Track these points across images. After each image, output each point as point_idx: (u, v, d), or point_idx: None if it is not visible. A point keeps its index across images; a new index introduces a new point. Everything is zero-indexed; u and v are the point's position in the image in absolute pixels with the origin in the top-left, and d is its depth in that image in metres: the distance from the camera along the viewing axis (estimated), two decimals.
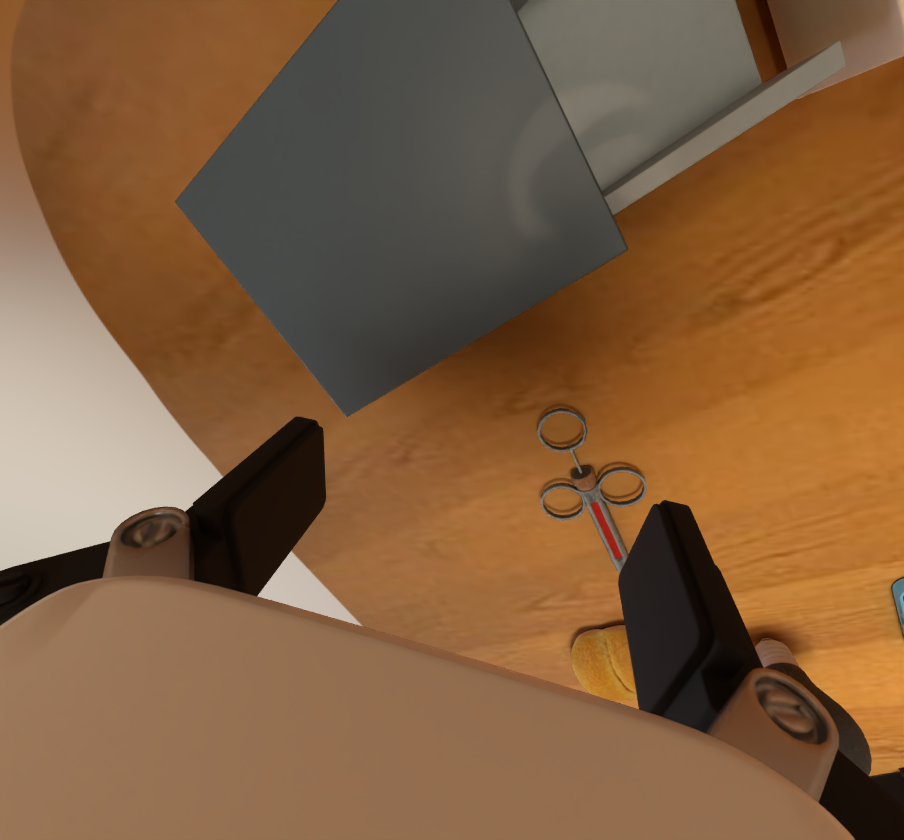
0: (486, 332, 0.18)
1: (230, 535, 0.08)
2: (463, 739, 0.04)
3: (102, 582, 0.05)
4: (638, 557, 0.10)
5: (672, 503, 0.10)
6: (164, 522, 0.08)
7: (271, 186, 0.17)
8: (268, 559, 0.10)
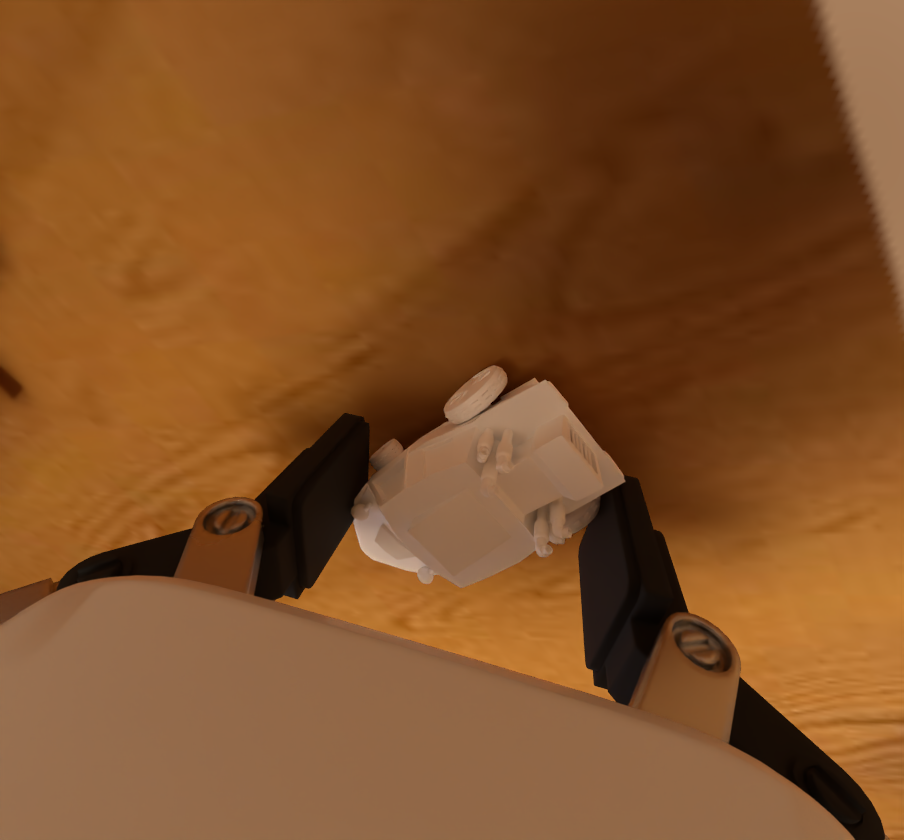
0: None
1: (297, 524, 0.09)
2: (463, 739, 0.04)
3: (102, 582, 0.05)
4: (593, 527, 0.11)
5: None
6: (241, 512, 0.08)
7: None
8: (323, 549, 0.10)
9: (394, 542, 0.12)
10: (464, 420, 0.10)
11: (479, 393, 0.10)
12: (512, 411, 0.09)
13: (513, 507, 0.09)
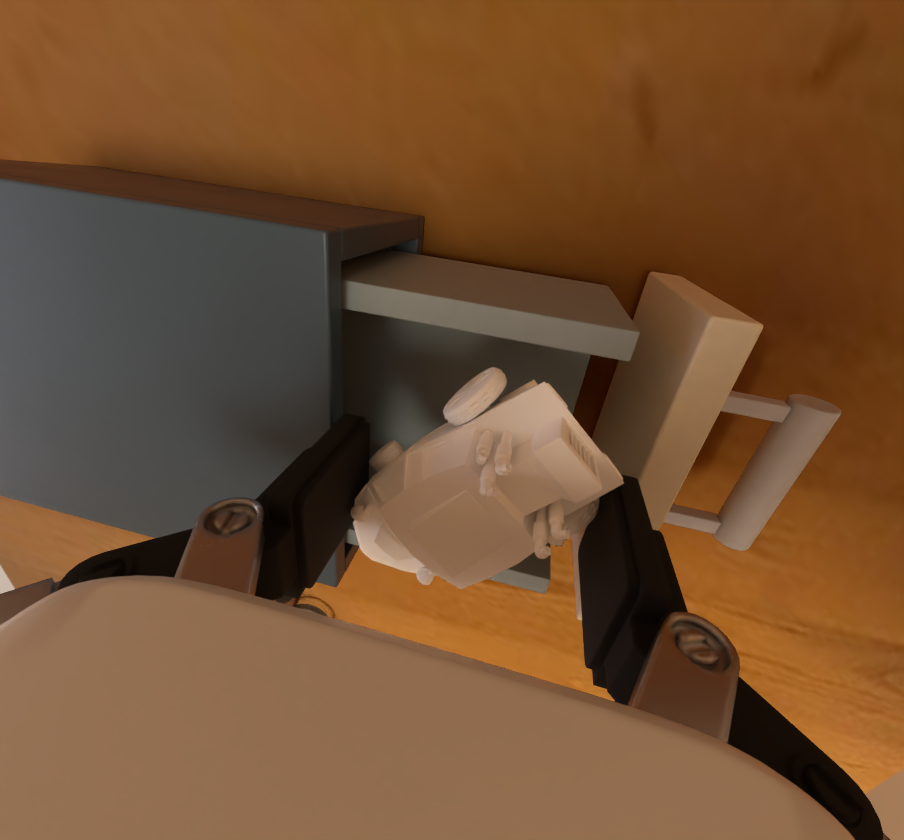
0: None
1: (298, 524, 0.09)
2: (463, 739, 0.04)
3: (102, 582, 0.05)
4: (593, 527, 0.11)
5: (622, 475, 0.11)
6: (242, 512, 0.08)
7: None
8: (324, 549, 0.10)
9: (393, 543, 0.12)
10: (463, 422, 0.10)
11: (478, 395, 0.10)
12: (511, 413, 0.09)
13: (512, 509, 0.09)
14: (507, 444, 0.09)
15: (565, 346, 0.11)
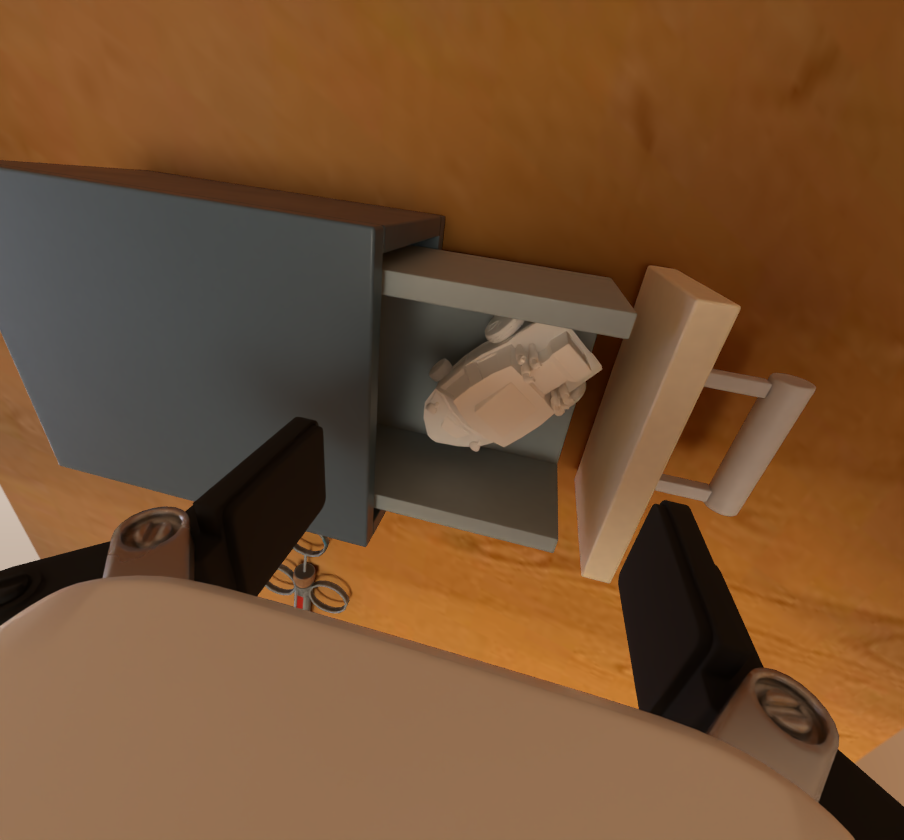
0: None
1: (230, 535, 0.08)
2: (463, 739, 0.04)
3: (102, 582, 0.05)
4: (638, 557, 0.10)
5: (672, 503, 0.10)
6: (164, 522, 0.08)
7: (66, 256, 0.14)
8: (268, 559, 0.10)
9: (454, 426, 0.18)
10: (502, 340, 0.16)
11: (512, 322, 0.15)
12: (534, 332, 0.15)
13: (538, 391, 0.16)
14: (535, 351, 0.15)
15: (573, 325, 0.12)
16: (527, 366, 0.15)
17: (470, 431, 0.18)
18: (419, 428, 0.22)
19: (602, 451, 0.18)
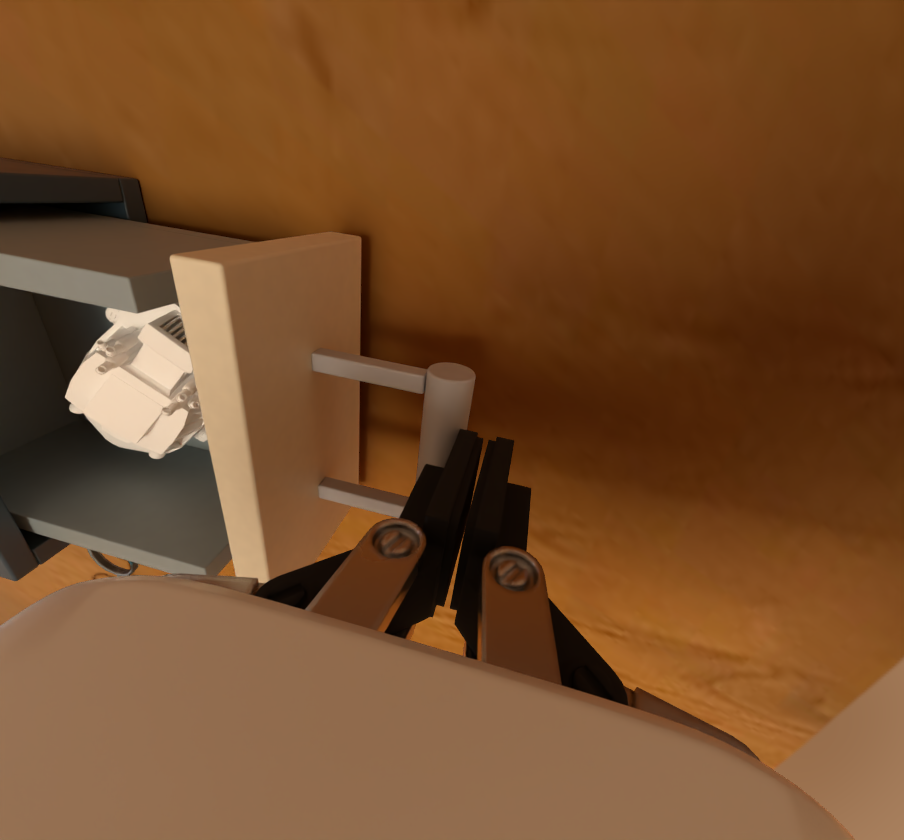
0: None
1: (449, 545, 0.09)
2: (463, 739, 0.04)
3: (102, 582, 0.05)
4: None
5: (500, 438, 0.11)
6: (407, 539, 0.08)
7: None
8: (453, 566, 0.10)
9: None
10: None
11: None
12: None
13: (157, 385, 0.13)
14: (130, 334, 0.12)
15: (72, 296, 0.09)
16: None
17: None
18: None
19: None
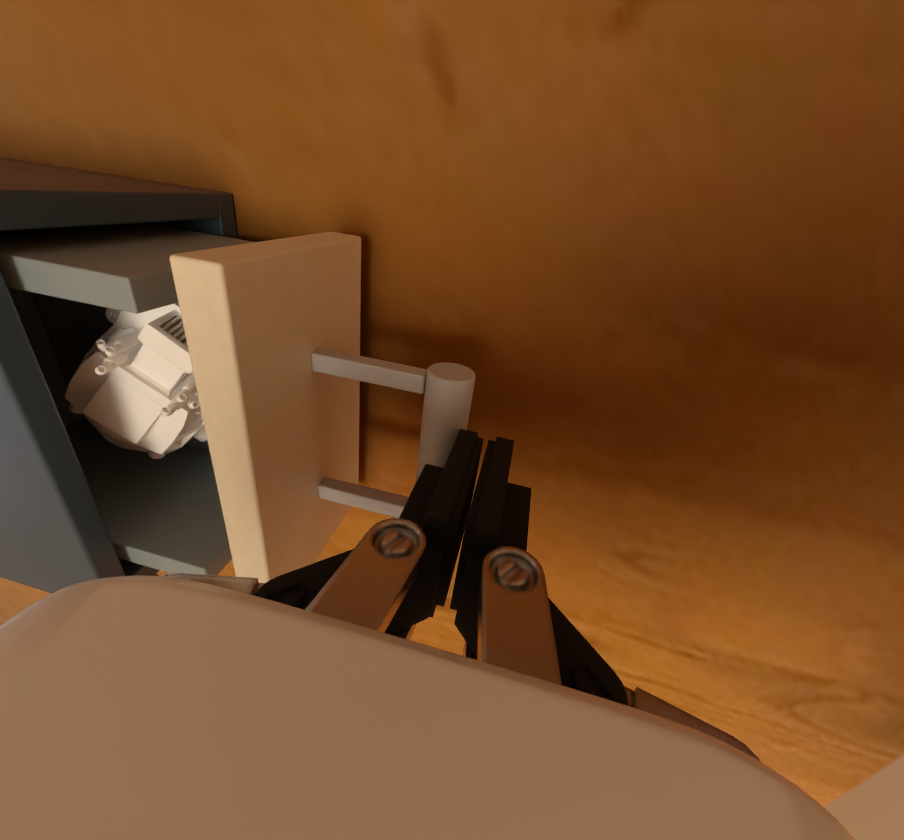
0: None
1: (449, 545, 0.09)
2: (463, 739, 0.04)
3: (102, 582, 0.05)
4: None
5: (500, 438, 0.11)
6: (407, 539, 0.08)
7: None
8: (453, 566, 0.10)
9: None
10: None
11: None
12: None
13: (156, 385, 0.12)
14: (130, 334, 0.12)
15: (72, 296, 0.09)
16: None
17: None
18: None
19: None
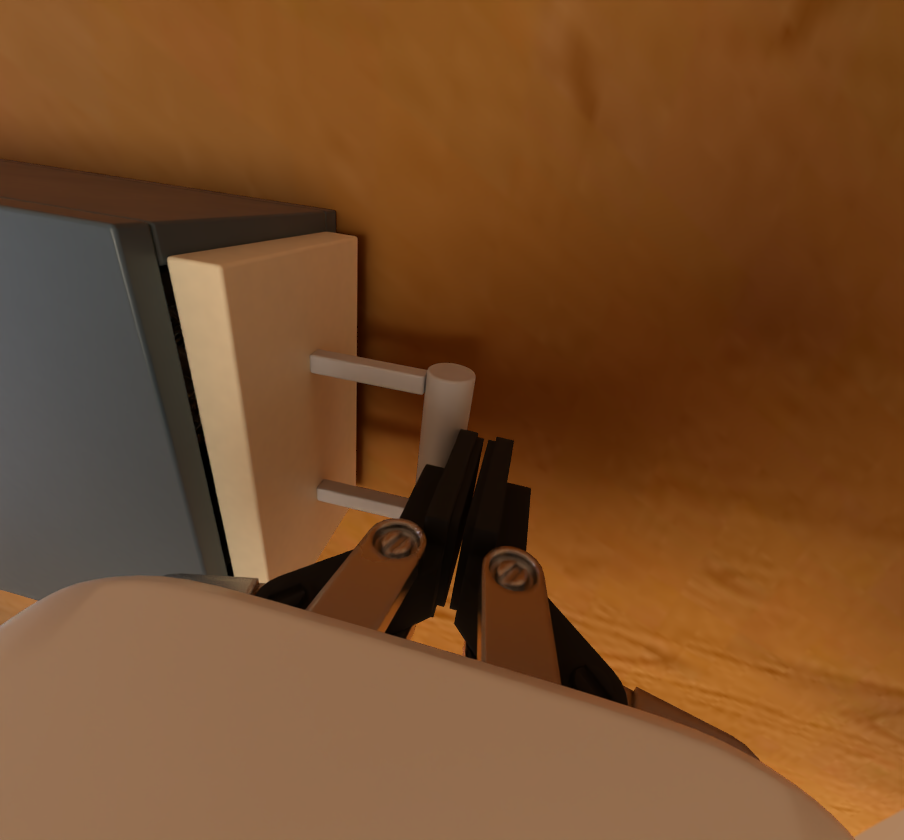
0: None
1: (449, 545, 0.09)
2: (463, 739, 0.04)
3: (102, 582, 0.05)
4: None
5: (500, 438, 0.11)
6: (407, 539, 0.08)
7: None
8: (453, 566, 0.10)
9: None
10: None
11: None
12: None
13: None
14: None
15: None
16: None
17: None
18: None
19: None
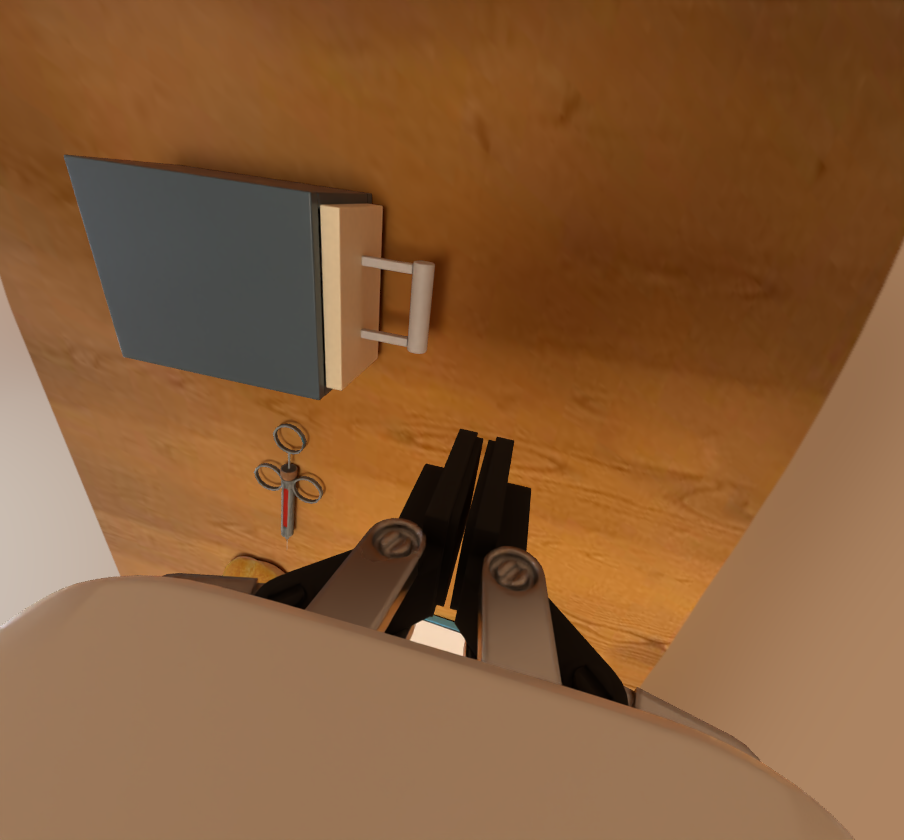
0: (234, 380, 0.29)
1: (449, 545, 0.09)
2: (463, 739, 0.04)
3: (102, 582, 0.05)
4: None
5: (500, 438, 0.11)
6: (407, 539, 0.08)
7: (141, 212, 0.24)
8: (453, 566, 0.10)
9: None
10: None
11: None
12: None
13: None
14: None
15: None
16: None
17: None
18: None
19: None
